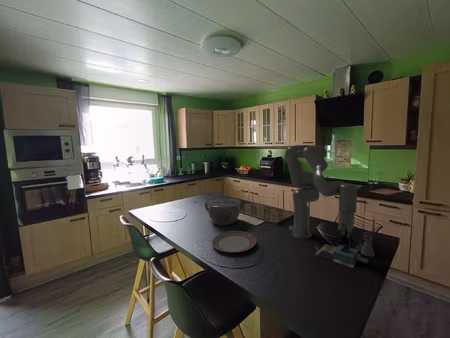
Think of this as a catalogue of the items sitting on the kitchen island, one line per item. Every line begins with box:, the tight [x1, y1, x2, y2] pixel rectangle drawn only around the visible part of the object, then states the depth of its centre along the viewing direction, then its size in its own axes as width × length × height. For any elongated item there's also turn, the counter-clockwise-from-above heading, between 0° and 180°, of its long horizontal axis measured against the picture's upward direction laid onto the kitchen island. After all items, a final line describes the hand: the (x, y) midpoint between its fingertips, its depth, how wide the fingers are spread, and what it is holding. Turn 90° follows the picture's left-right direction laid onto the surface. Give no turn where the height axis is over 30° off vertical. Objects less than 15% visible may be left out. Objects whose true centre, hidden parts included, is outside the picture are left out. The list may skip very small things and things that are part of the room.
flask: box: [360, 236, 376, 257], centre depth 112 cm, size 7×7×10 cm
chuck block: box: [333, 244, 369, 265], centre depth 107 cm, size 14×9×4 cm, turn 45°
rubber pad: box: [316, 250, 333, 262], centre depth 112 cm, size 7×7×1 cm
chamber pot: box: [204, 196, 242, 226], centre depth 166 cm, size 28×28×21 cm
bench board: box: [314, 243, 362, 269], centre depth 112 cm, size 18×16×1 cm
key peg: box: [342, 230, 351, 250], centre depth 107 cm, size 3×3×10 cm
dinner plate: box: [211, 230, 257, 253], centre depth 130 cm, size 28×27×3 cm
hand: (346, 242), depth 107 cm, fingers closed on key peg, 3 cm apart
